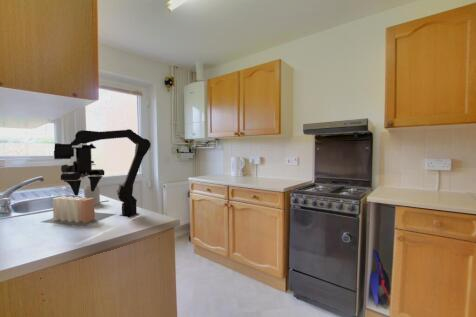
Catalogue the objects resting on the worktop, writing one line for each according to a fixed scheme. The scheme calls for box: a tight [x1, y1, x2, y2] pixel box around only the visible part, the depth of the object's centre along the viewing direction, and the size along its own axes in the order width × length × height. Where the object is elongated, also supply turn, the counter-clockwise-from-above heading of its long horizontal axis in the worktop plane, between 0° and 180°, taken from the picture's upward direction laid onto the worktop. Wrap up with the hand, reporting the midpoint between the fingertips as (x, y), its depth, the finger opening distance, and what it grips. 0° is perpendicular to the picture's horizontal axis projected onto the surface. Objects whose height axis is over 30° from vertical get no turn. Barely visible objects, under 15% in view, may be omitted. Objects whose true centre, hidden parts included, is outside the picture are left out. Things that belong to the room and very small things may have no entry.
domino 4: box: [74, 197, 87, 222], centre depth 104 cm, size 2×5×10 cm, turn 167°
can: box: [83, 184, 101, 206], centre depth 133 cm, size 8×8×12 cm
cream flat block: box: [60, 196, 74, 221], centre depth 106 cm, size 2×5×10 cm, turn 167°
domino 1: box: [52, 195, 67, 220], centre depth 107 cm, size 2×5×10 cm, turn 167°
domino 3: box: [67, 196, 81, 222], centre depth 105 cm, size 2×5×10 cm, turn 167°
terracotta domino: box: [82, 198, 96, 223], centre depth 103 cm, size 2×5×10 cm, turn 167°
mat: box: [41, 211, 116, 227], centre depth 108 cm, size 24×18×1 cm
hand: (84, 193), depth 103 cm, fingers open, 9 cm apart
